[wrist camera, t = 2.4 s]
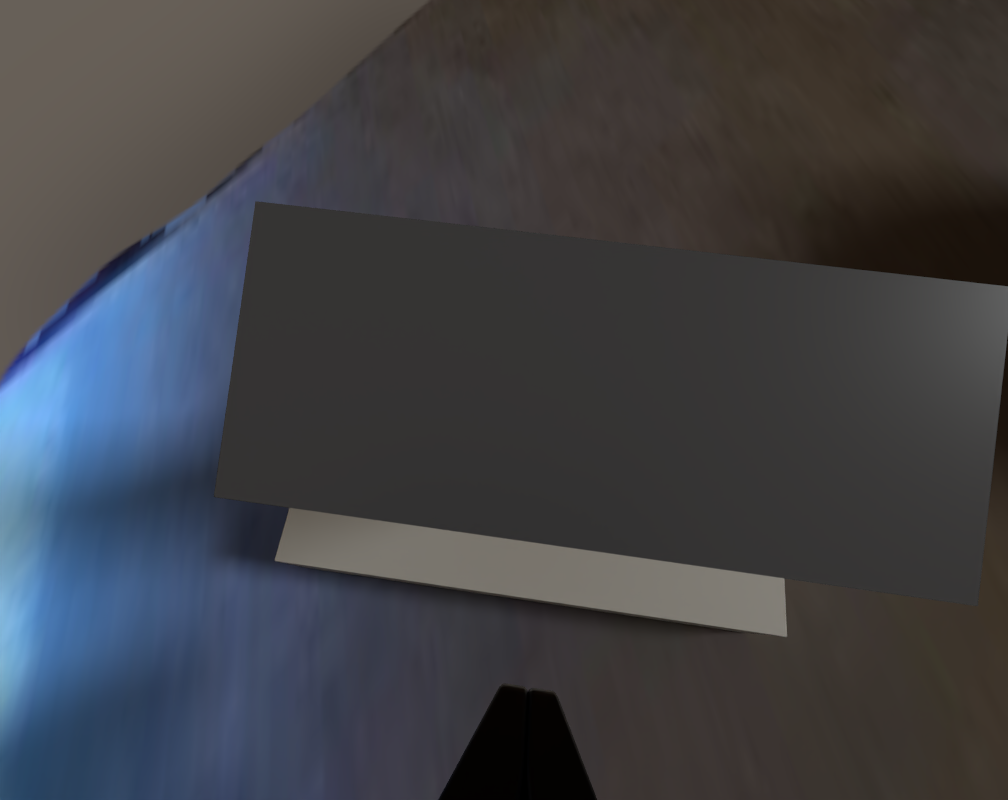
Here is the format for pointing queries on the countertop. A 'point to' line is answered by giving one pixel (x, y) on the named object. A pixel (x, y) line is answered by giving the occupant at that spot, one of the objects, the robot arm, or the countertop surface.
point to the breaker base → (535, 572)
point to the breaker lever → (619, 398)
